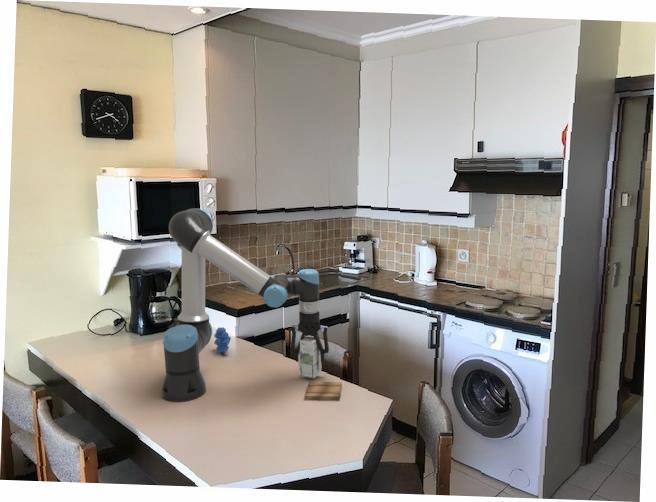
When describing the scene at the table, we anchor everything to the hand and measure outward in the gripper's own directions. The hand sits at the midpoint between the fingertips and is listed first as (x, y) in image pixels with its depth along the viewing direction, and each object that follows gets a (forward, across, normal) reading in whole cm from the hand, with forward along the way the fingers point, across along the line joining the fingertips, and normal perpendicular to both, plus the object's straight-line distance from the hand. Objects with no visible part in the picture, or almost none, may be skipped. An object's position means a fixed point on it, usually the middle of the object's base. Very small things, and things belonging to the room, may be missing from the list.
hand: (310, 369), depth 197 cm
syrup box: (+2, 0, 0) cm, 2 cm away
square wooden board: (+3, +6, -13) cm, 15 cm away
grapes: (+4, -41, +25) cm, 48 cm away
